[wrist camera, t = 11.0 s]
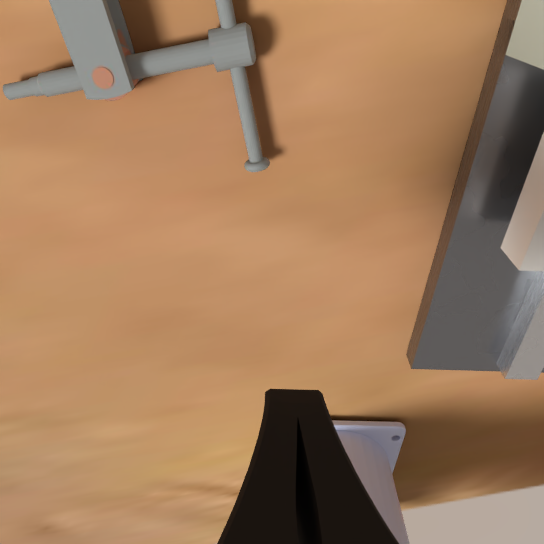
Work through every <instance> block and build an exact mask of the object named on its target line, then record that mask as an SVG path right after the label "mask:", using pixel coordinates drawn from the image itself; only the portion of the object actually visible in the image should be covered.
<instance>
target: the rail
mask: <svg viewBox="0 0 544 544" xmlns="http://www.w3.org/2000/svg"><path fill="white" fill-rule="evenodd" d="M521 1H522V0H507V3H506V7H505V10H504V14H503V17H502V21H501V24H500V28H499V31H498V35H497V38H496V42H495V46H494V49H493V53H492V56H491V60H490V63H489V67H488V70H487V74H486V77H485V81H484V84H483V88H482V91H481V95H480V98H479V102H478V105H477V109H476V112H475V116H474V119H473V123H472V126H471V130H470V133H469V137H468V140H467V144H466V147H465V151H464V154H463V158H462V161H461V165H460V168H459V172H458V175H457V179H456V182H455V186H454V189H453V193H452V196H451V200H450V203H449V207H448V210H447V214H446V217H445V221H444V225H443V228H442V232H441V235H440V239H439V242H438V246H437V249H436V253H435V256H434V260H433V263H432V267H431V270H430V274H429V277H428V281H427V284H426V288H425V291H424V295H423V298H422V302H421V305H420V309H419V312H418V316H417V319H416V323H415V326H414V330H413V333H412V337H411V340H410V344H409V347H408V351H407V354H406V355H407V358H408V361H409V364H410V366H411V369H438V370H473V371H501V373H502V375H503V376H504V378H505V379H532V380H537V379H538V377H539V375H540V373H541V372H543V373H544V271H520V270H518V269H517V267H516V266H515V265H514V264H513V263H512V261H511V260H510V259H509V258H508V257H507V255H506V254H505V253H504V252H503V250H502V249H501V245H502V242H503V240H504V237H505V234H506V232H507V229H508V226H509V224H510V221H511V218H512V216H513V213H514V210H515V208H516V205H517V202H518V199H519V197H520V194H521V191H522V189H523V186H524V183H525V181H526V178H527V175H528V173H529V170H530V167H531V164H532V162H533V159H534V156H535V154H536V151H537V148H538V146H539V143H540V140H541V138H542V135H543V132H544V70H543V69H541V68H538V67H536V66H533V65H530V64H528V63H525V62H523V61H520V60H517V59H515V58H512V57H510V56H507V55H506V51H507V48H508V45H509V41H510V38H511V34H512V31H513V27H514V25H515V21H516V18H517V14H518V11H519V8H520V4H521Z"/></svg>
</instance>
